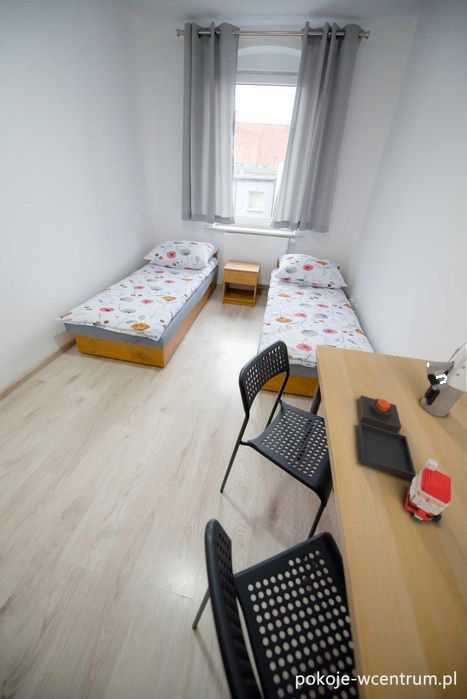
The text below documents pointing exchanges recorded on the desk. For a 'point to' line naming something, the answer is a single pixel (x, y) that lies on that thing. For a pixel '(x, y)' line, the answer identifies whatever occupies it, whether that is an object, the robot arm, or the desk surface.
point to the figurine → (429, 493)
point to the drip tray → (385, 451)
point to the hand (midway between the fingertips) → (453, 410)
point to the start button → (383, 405)
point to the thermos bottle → (443, 398)
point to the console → (378, 415)
